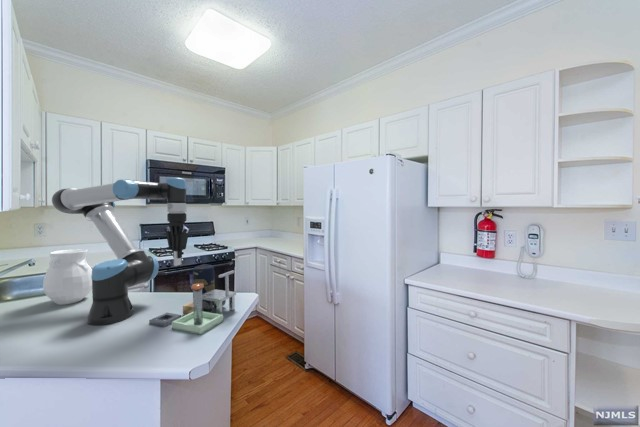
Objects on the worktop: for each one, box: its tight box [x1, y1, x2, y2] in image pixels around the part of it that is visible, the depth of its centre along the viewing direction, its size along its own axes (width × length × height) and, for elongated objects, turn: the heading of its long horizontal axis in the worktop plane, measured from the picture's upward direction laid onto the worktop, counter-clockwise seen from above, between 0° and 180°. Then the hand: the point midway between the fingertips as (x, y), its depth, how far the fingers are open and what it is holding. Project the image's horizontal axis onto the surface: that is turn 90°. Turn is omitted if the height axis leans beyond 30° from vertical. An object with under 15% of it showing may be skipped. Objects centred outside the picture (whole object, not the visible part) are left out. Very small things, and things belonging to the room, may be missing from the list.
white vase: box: [42, 248, 93, 306], centre depth 130 cm, size 19×18×25 cm
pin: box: [190, 283, 204, 325], centre depth 104 cm, size 4×4×15 cm
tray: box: [171, 311, 224, 336], centre depth 104 cm, size 14×12×3 cm
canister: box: [192, 263, 216, 301], centre depth 131 cm, size 10×10×18 cm
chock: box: [182, 301, 194, 316], centre depth 116 cm, size 6×5×4 cm
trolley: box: [202, 269, 237, 315], centre depth 117 cm, size 12×10×18 cm
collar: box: [148, 312, 182, 328], centre depth 107 cm, size 8×8×2 cm
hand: (177, 265), depth 119 cm, fingers closed
